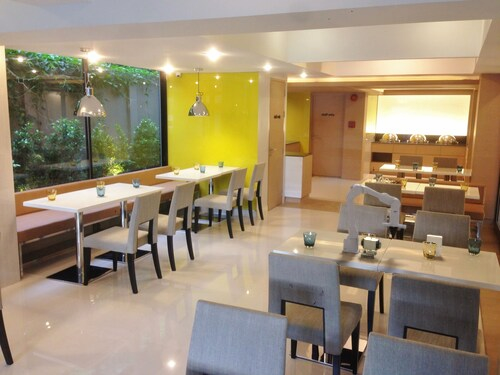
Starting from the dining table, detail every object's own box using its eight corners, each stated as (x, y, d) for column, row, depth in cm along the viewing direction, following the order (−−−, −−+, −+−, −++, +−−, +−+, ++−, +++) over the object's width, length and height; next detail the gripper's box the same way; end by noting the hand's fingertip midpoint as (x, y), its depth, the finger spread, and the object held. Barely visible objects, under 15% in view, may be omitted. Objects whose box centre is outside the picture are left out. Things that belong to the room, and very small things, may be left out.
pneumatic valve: (378, 258, 277) (379, 239, 275) (360, 255, 284) (361, 236, 282) (381, 256, 282) (382, 237, 280) (363, 252, 288) (364, 234, 287)
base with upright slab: (441, 253, 290) (442, 235, 288) (440, 257, 282) (442, 238, 280) (426, 251, 294) (427, 233, 292) (425, 255, 286) (426, 236, 284)
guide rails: (360, 256, 280) (360, 254, 280) (363, 252, 290) (363, 249, 290) (373, 258, 277) (373, 256, 277) (376, 253, 287) (376, 251, 287)
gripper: (381, 217, 283) (380, 238, 285) (405, 219, 277) (404, 241, 279) (383, 215, 289) (382, 235, 291) (407, 217, 283) (405, 238, 285)
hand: (393, 238), depth 286 cm, fingers closed
